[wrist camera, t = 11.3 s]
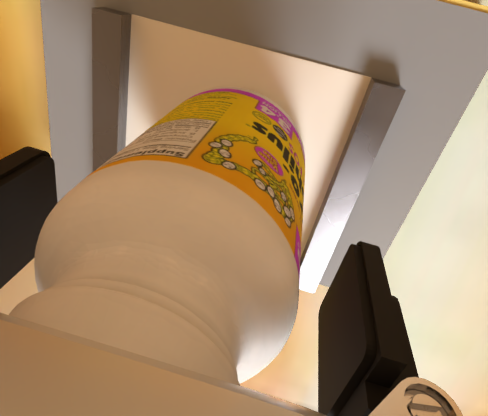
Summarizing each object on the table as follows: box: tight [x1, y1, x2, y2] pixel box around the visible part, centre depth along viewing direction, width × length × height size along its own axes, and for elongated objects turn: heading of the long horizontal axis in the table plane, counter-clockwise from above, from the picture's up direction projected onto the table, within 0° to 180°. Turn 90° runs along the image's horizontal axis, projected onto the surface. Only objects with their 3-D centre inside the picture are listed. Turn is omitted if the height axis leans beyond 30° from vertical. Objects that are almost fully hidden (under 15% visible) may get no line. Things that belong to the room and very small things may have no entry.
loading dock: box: [40, 0, 488, 287], centre depth 18 cm, size 18×14×3 cm
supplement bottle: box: [9, 87, 305, 386], centre depth 11 cm, size 7×7×13 cm
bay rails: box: [92, 7, 406, 294], centre depth 17 cm, size 12×11×1 cm
